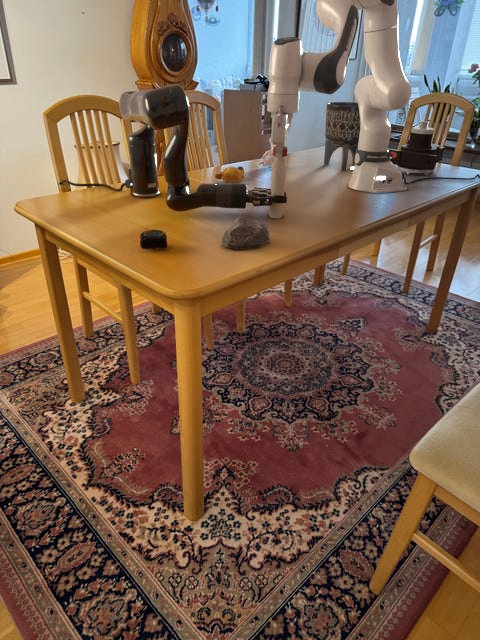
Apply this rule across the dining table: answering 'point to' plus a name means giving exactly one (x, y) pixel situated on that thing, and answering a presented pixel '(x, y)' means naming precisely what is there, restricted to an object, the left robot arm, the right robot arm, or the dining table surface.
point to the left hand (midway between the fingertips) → (285, 197)
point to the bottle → (278, 186)
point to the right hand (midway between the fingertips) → (279, 156)
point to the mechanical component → (418, 152)
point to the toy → (231, 174)
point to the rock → (245, 234)
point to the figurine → (268, 157)
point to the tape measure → (153, 239)
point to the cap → (282, 152)
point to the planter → (342, 130)
